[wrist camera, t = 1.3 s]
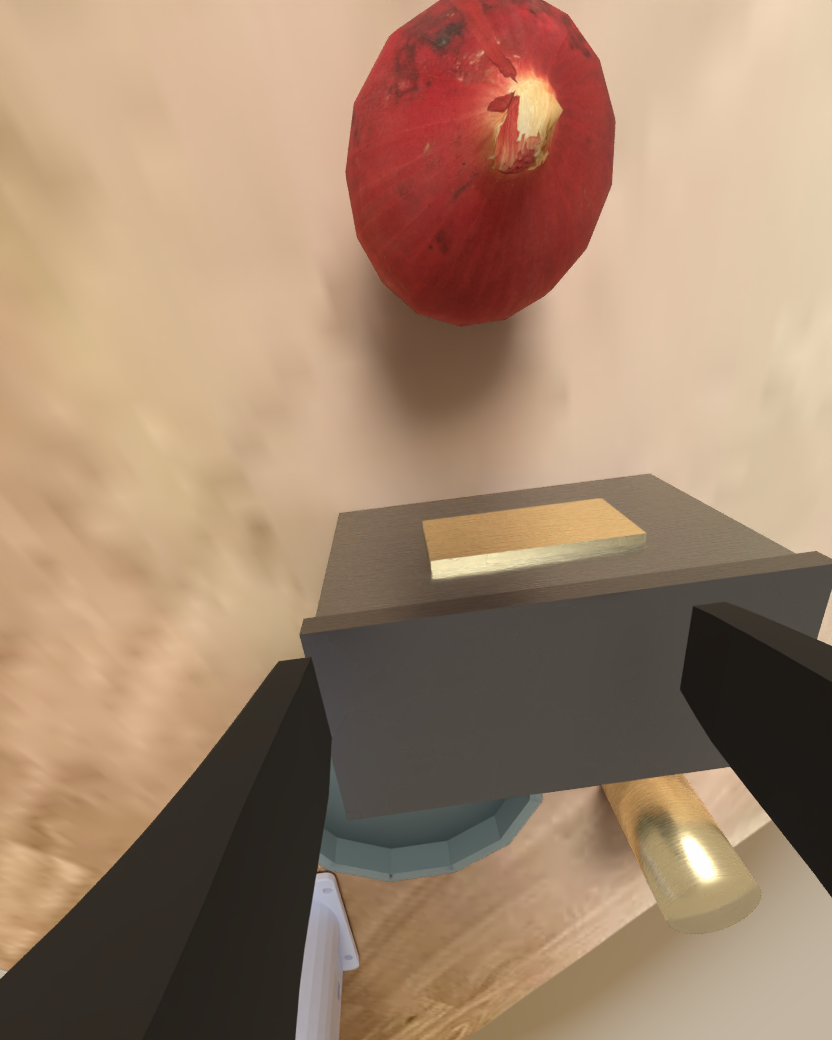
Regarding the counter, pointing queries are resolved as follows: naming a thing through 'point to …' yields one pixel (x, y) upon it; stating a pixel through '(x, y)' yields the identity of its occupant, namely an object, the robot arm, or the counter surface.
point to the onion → (480, 157)
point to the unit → (531, 638)
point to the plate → (419, 837)
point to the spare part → (683, 854)
